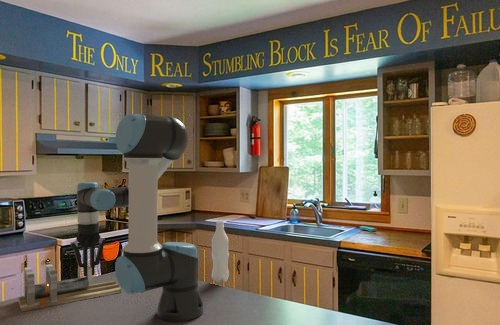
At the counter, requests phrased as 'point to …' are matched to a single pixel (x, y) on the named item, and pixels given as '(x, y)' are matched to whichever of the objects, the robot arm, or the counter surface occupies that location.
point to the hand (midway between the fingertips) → (89, 284)
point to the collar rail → (51, 277)
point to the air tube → (62, 287)
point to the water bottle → (220, 254)
